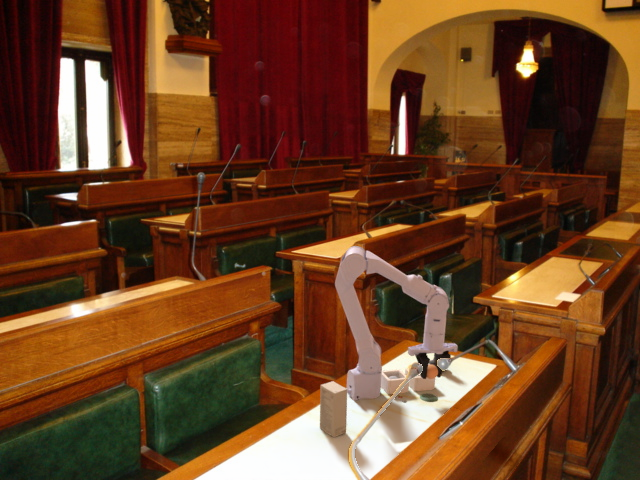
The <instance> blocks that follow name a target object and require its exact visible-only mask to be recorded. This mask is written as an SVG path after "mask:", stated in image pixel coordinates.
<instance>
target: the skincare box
mask: <svg viewBox="0 0 640 480" xmlns="http://www.w3.org/2000/svg"><path fill="white" fill-rule="evenodd" d="M319 399H320V400H319V401H320V402H319V403H320V404H319V428H320V429H321V430H322V431H324V432H325V433H326V434H328V435H330V437H331V436H332V437H333V438H335V437H338V436H340V435H343V434H346V433H347V414H348V413H347V411H348V393H347V387H345V386H342V385H341V384H339V383H337V382H335V381H334V380H332V381H329V382H325V383H322V384H320V397H319Z"/></svg>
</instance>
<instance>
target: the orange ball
mask: <svg viewBox="0 0 640 480" xmlns="http://www.w3.org/2000/svg"><path fill="white" fill-rule="evenodd" d="M437 375H438V369H437V367H436V366H434V365H431V364H428V368H427V378H429V379H434V378H435V379H436V378H437Z"/></svg>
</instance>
